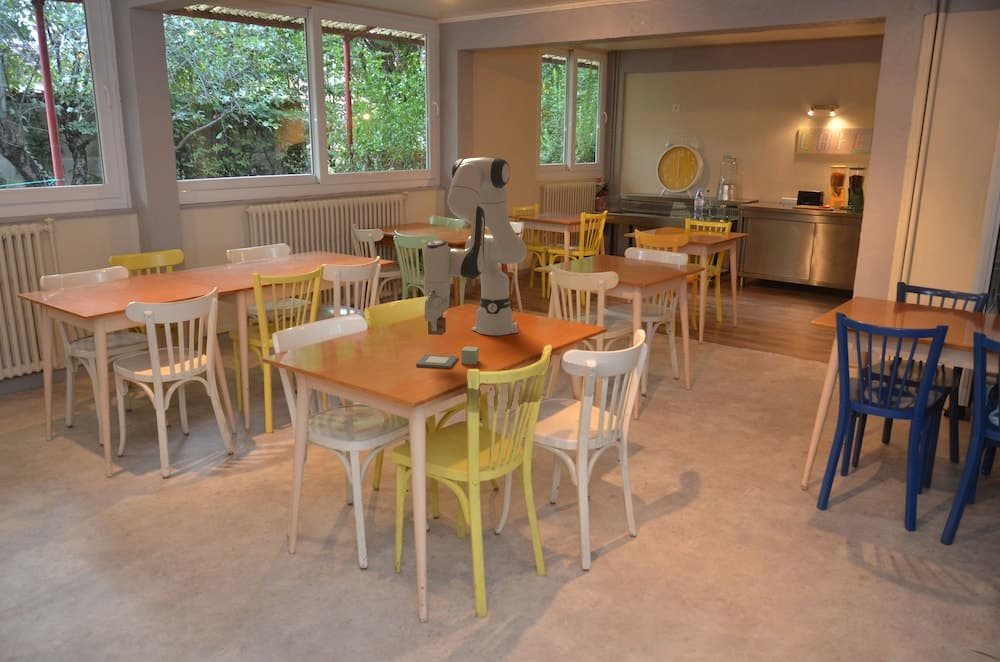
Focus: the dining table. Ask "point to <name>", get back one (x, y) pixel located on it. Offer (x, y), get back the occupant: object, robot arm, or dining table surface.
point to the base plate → (437, 361)
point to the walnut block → (441, 327)
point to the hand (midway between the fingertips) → (436, 328)
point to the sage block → (470, 355)
